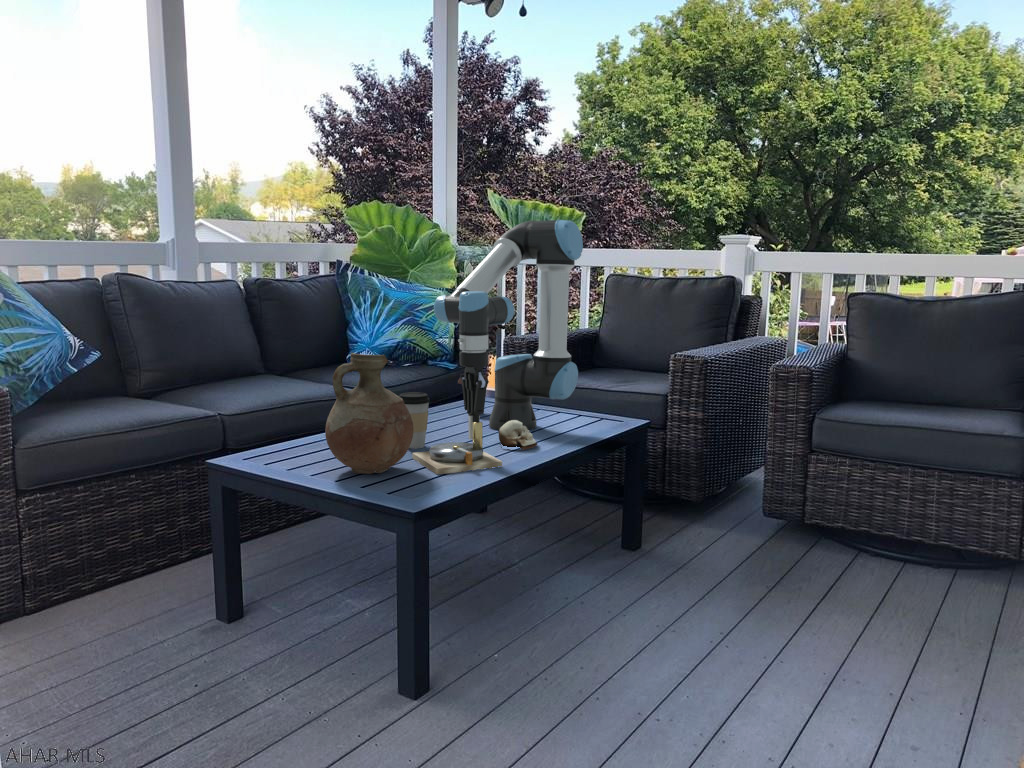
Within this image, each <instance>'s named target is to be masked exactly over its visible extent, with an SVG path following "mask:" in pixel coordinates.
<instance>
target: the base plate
mask: <svg viewBox="0 0 1024 768" xmlns="http://www.w3.org/2000/svg"><path fill="white" fill-rule="evenodd" d="M411 455H412V459H413V460H414V461H416V462H418V463H419V464H420V465H422V466H424V467H425V468H427V469H428V470H429V471H431V472H432V473H434V474H435V475H444V474H445V475H446V474H453V473H462V471H463V472H468V471H467V470H472V471H477V470H476V469H481V470H485V469H484V468H489V469H493V468H492V467H498V466H502V467H503V461H502V460H500V459H498V458H496V457H495V456H493V455H491V454H489V453H487V452H486V451H483V457H482V458H481V459H479V460H476V461H472V453H471V452H466V462H460V463H452V462H441V461H436V460H433V459H431V458H430V450H428V451H418V452H417V451H416V452H412V454H411ZM498 468H499V467H498Z"/></svg>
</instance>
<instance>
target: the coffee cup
mask: <svg viewBox="0 0 1024 768" xmlns="http://www.w3.org/2000/svg"><path fill="white" fill-rule="evenodd" d="M398 396H399V397H400V398H402V399H403V402H404V404H405V405H406V407H407V408H408V410H409V413H410V415H411V418H412V421H413V427H414V431H413V439H412V442H411V444H410V447H409V449H414V450H415V449H416V450H417V449H422V448H424V447H425V446H426V435H427V430H428V421H429V405H430V403H431V400H430V397H429V396H428V394H427V393H426V392H417V391H416V392H415V391H412V392H410V391H409V392H402V393H400V394H399V395H398Z"/></svg>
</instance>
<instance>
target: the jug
mask: <svg viewBox="0 0 1024 768" xmlns="http://www.w3.org/2000/svg"><path fill="white" fill-rule="evenodd" d="M387 363H388V359H387V357H386V355H384V354H361V353H355V352H351V353H350V362H348V363H342V364H341V365H339V366H337V368H336V369H335V370H334V373H333V375H332V387H333V392H334V394H335V396H336V400H335V402H334V404H333V406H332V408H331V410H330V411H329V414H328V415H327V419H326V423H325V432H324V433H325V435H324V436H325V439H326V444H327V446H328V448H329V450H330V452H331V453H332V455H333V456H334V457H335V458H336V460H338V461H339V462H340V463H341V464H342V465H344V466H345V467H348V468H350V469H351V473H354V474H364V475H365V474H366V475H372V474H375V473H377V474H381V473H385V471H389V470H390V468H391V467H393V466H395V465H396V464H397V463H398V462H400V461H401V460H402V458H404V457H405V455H406V454H407V452H408V451H409V449H410V448H409V447H410V444H411V442H412V439H413V431H414V427H413V421H412V418H411V415H410V413H409V410H408V408H407V407H406V405H405V404H404V402H403V399H402V398H400V397H399V395H397V394H396V393H394V391H393V392H392V391H391V390H389V389H387V388H386V387H384V385H383V382H382V379H381V375H382V374H381V373H382V371H383V369H384V367H385V366H386V364H387ZM351 372H357V373H358V374H359V378H358V379H359V380H358V383H357V385H356V386H355V387H354V388H352V389H350V390H347V389H345V387H344V385H343V384H344V383H343V378H344V376H345V375H346V374H347V373H351Z"/></svg>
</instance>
